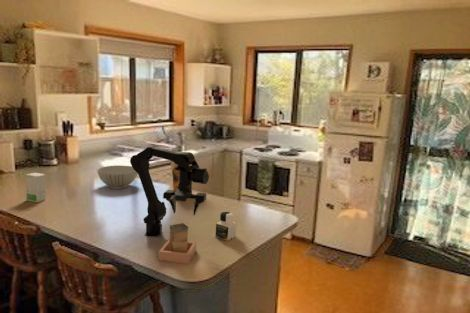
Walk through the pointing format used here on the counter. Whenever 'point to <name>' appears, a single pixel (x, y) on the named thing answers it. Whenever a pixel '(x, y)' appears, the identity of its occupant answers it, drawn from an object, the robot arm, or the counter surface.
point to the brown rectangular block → (178, 238)
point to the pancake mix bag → (175, 175)
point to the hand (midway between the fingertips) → (184, 214)
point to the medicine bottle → (226, 226)
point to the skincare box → (35, 187)
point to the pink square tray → (177, 253)
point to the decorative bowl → (117, 176)
